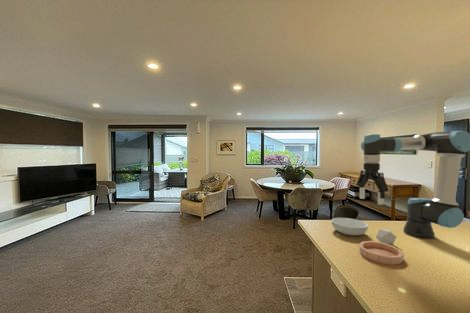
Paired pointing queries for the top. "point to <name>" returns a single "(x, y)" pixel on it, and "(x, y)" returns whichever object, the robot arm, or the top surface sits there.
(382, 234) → the die
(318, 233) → the top surface
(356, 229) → the serving bowl
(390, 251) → the tray
